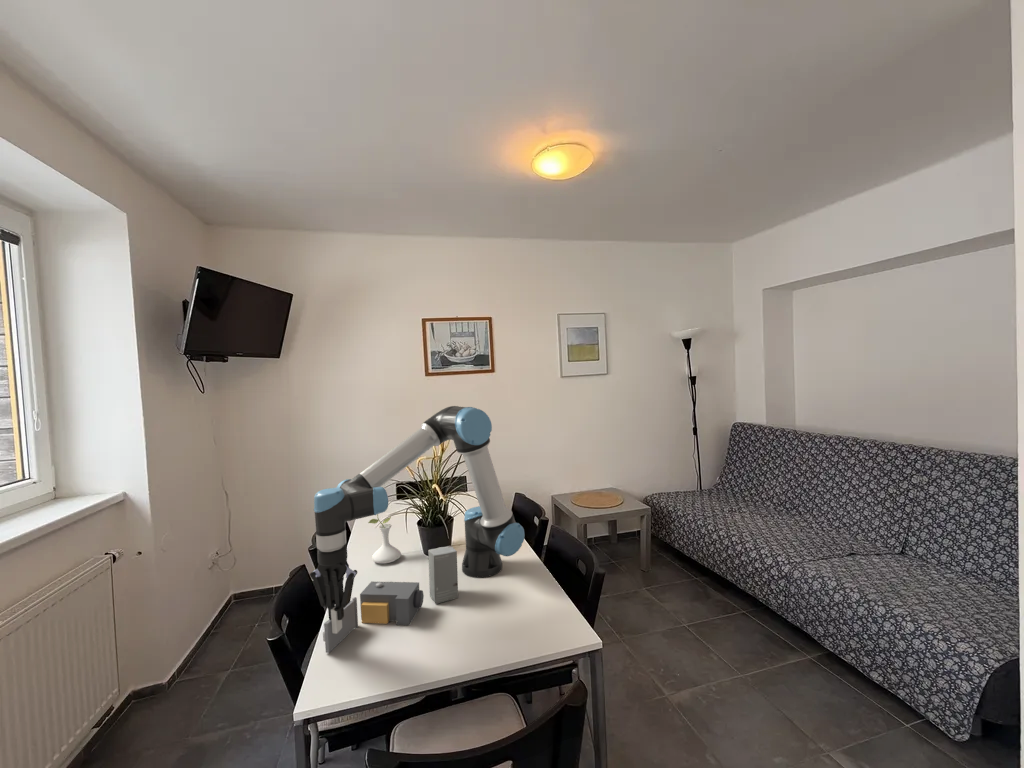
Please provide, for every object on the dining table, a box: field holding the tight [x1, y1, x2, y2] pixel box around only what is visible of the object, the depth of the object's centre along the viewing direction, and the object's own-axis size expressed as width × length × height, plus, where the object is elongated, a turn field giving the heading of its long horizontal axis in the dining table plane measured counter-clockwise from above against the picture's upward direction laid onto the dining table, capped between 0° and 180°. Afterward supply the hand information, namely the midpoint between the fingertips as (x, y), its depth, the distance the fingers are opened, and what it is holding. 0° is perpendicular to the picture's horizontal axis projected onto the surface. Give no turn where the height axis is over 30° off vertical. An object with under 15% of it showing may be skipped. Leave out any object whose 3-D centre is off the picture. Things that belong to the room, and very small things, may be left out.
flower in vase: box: [367, 514, 402, 564], centre depth 177 cm, size 13×11×25 cm
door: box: [322, 599, 356, 654], centre depth 125 cm, size 12×2×8 cm, turn 165°
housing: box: [351, 581, 425, 629], centre depth 136 cm, size 18×12×9 cm, turn 83°
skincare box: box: [428, 545, 459, 605], centre depth 146 cm, size 8×7×16 cm
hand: (337, 630), depth 121 cm, fingers closed
